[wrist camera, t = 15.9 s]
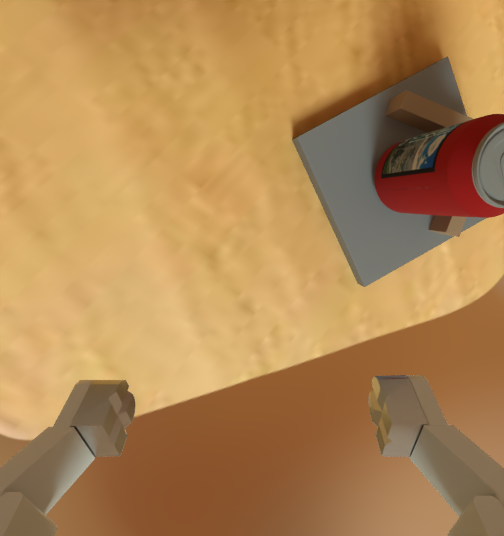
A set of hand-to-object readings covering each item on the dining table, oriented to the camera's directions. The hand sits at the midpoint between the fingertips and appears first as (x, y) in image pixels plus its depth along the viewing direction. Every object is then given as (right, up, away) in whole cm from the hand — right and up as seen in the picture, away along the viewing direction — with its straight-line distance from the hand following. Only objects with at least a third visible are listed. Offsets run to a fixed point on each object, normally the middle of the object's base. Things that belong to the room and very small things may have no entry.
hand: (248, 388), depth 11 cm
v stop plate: (+15, +13, +23) cm, 30 cm away
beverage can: (+15, +13, +22) cm, 29 cm away
